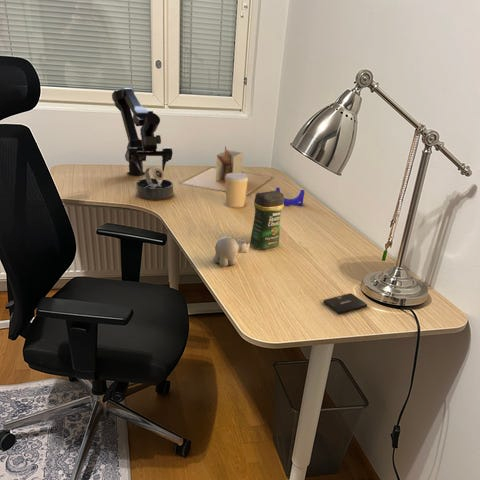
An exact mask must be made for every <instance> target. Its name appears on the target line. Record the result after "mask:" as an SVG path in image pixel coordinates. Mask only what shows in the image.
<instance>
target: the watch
mask: <svg viewBox="0 0 480 480" xmlns="http://www.w3.org/2000/svg"><path fill="white" fill-rule="evenodd" d="M150 170H151V171H152V177H153V178H155V179H156V181H157V182H158V184H153V183H152V180H151V178H152V177H151V175H150V172H149V171H150ZM144 172H145V174H144V179H146V181H147V183H148V184H149V186H146V188H162V186H161V183H162V181H163V179H164V172H163V171H162V169H160V168H158V167H157V166H149V167H147V168H146V169H145V171H144Z"/></svg>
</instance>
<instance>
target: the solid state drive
mask: <svg viewBox="0 0 480 480" xmlns="http://www.w3.org/2000/svg"><path fill="white" fill-rule="evenodd" d="M323 303H324V304H325V305H327V307H329V308H330V309H332V310H333V311H334V312H336V314H339V315H341V314H344V313H349V312H352V311H356V310H360V309H364V308H367V307H368V303H366V302H365V301H364V300H363V299H360V298H359V297H357V296H356V295H355V294H353V293H345V294H341V295H338V296H334V297H329V298H326V299H323Z"/></svg>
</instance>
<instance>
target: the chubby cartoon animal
mask: <svg viewBox="0 0 480 480" xmlns="http://www.w3.org/2000/svg"><path fill="white" fill-rule="evenodd" d="M241 238H242V237H241V236H239V237H238V238H237V239H236V240H235V238H233V237H231V236H223V237H222V236H221V238H219V239H218V240H217V241H216V243H215V245H214V251H215V254H214V256H213V262H215V263H216V264H219V266H220V267H227V266H228V265H229V266H234V265H236V263H237V259H236V256H237V255H238V254H248V252H249V250H250V241H248V242H247V243H246V239H241Z"/></svg>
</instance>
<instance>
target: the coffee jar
mask: <svg viewBox="0 0 480 480" xmlns="http://www.w3.org/2000/svg"><path fill="white" fill-rule="evenodd" d="M284 198H285V195H284V194H283V192H281V191H280V192H278V191H276V189H275V190H270V191H264V192H256V194H255V196H254V202H253V205H254V218H253V223H252V229H251V234H250V241H249V244H250V245H251V246H252V247H253V248H255V249H259V250H269V249H274V248H277V247H278V246H279V245H280V229H281V228H280V227H281V215H282V210H283V208H284V206H285V205H284Z"/></svg>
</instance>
